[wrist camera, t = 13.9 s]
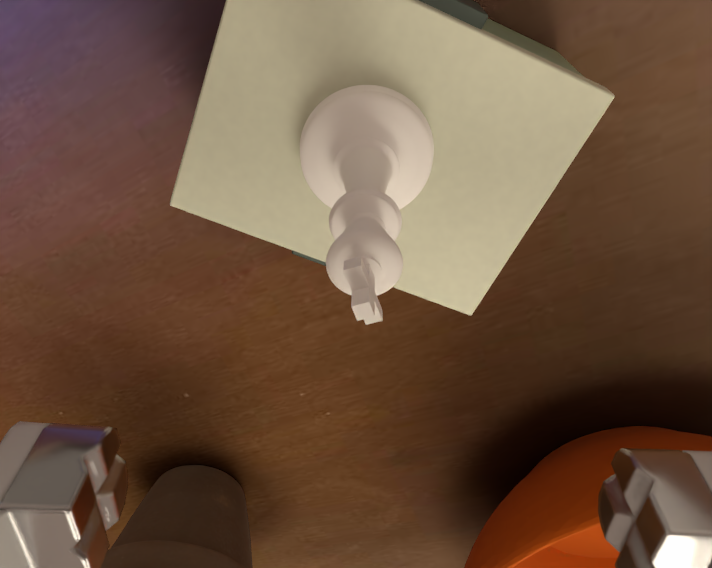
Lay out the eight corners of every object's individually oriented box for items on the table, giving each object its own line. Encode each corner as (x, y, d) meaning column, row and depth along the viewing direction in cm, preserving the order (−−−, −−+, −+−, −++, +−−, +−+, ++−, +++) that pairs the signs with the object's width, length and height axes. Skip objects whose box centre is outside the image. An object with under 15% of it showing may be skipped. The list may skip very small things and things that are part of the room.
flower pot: (312, 478, 43) (298, 622, 35) (239, 557, 49) (212, 698, 40) (160, 413, 40) (104, 554, 32) (100, 504, 46) (39, 646, 37)
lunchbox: (205, 151, 30) (165, 216, 24) (281, -102, 24) (252, -96, 18) (449, 245, 33) (466, 325, 27) (570, 38, 27) (625, 82, 21)
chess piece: (412, 64, 21) (439, 188, 13) (448, 191, 23) (490, 364, 15) (278, 109, 22) (221, 253, 14) (327, 226, 24) (303, 407, 16)
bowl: (836, 321, 35) (982, 460, 27) (790, 571, 48) (878, 716, 40) (404, 400, 39) (413, 542, 31) (471, 610, 52) (489, 749, 44)
